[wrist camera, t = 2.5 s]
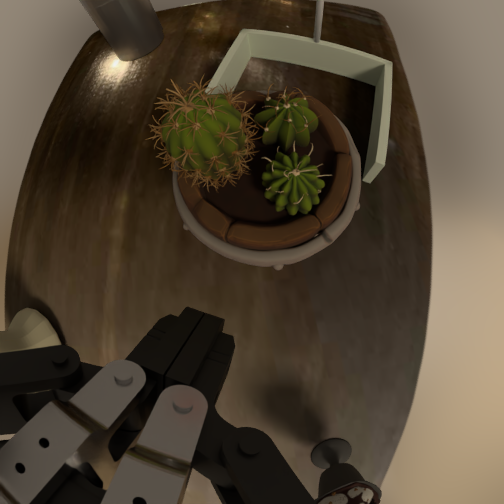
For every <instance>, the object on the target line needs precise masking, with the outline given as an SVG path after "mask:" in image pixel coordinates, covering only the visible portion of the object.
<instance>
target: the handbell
mask: <svg viewBox="0 0 504 504" xmlns="http://www.w3.org/2000/svg"><path fill="white" fill-rule="evenodd" d="M54 345H62V344H61V342H60V339H59V337H58V334H57V333H56V331H55V330H54V328H53V327H52V325H51V324H50V322H49V321H48V319H46V318H45V317H44V316H43V315H42V314H41V313H39V312H38V311H37V310H35V309H30V308H25V309H23V310H21V311H19V312H18V313H17V314H16V315H15V317H14V318H13V320H12V322H11V323H10V326H9V328H8V330H7V331H0V353H3V352H12V351H20V350H27V349H34V348H41V347H48V346H54ZM48 391H49V390H48ZM35 393H36V392H35ZM28 394H29V393H28Z"/></svg>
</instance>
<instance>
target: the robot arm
mask: <svg viewBox="0 0 504 504" xmlns="http://www.w3.org/2000/svg"><path fill="white" fill-rule="evenodd" d="M80 2H81V3H82V5H83V6H84V8H85V9H86V11H87V12H88V14H89V15H90V16H91V18H92V19H93V21H94V22H95V24H96V25H97V27H98V28H99V30H100V31H101V32H102V34H103V35H104V37H105V38H106V40H107V41H108V43H109V44H110V46H111V47H112V49H113V50H114V51H115V53H116V54H117V56H118V57H119V59H121V60H123V61H131V60H135V59H138V58H140V57H142V56H144V55H146V54H148V53H149V52H151V51H152V50H154V49H155V48H156V47H157V46H158V45H159V44H160V43H161V42H162V40H163V37H164V34H163V32H162V29H163V28H162V26H161V24H160V21H159V19H158V17H157V15H156V13H155V11H154V9H153V7H152V4H151V2H150V0H80ZM224 321H225V320H224V319H222V318H219V317H216V316H213V315H210V314H207V313H206V314H205V313H204V312H201V311H198V310H196V309H193V308H190V307H186V308H185V309H184V310H183V312H182V313H181V314H180V315H179V317H177V316H174V315H172V314H170V315H168V316H165V317H163V318H161V319H159V320H158V322H157V323H156V324H155V325H154V326H153V328H152V329H151V330H150V331H149V332H148V333H147V335H145V337H144V338H143V339H142V340H141V341H140V342H139V344H138V345H137V346H136V347H135V348H134V350H133V351H132V352H131V353H130V354H129V355H128V357H127V358H126V359H125V360H115V361H112V362H110V363H108V364H107V365H106V366H105V367H100V366H96V365H92V364H88V363H84V362H81V361H80V357H79V355H78V353H77V352H76V351H75V350H74V349H73V348H71V347H69V346H66V345H54V346H48V347H41V348H34V349H27V350H20V351H12V352H3V353H0V435H4V434H15V435H14V436H13V437H12V438H11V439H10V440H1V441H0V504H182V502H183V499H184V495H185V491H186V488H187V485H188V482H189V478H190V475H191V472H192V468H194V469H195V470H196V471H198V472H199V473H201V474H202V475H204V476H205V477H207V478H208V479H210V480H211V483H212V485H213V487H214V489H215V491H216V493H217V495H218V497H219V499H220V500H221V502H222V504H317V503H316V502H315V500H314V499H313V498H312V497H311V495H310V494H309V493H308V491H307V490H306V489H305V487H304V486H303V484H302V483H301V482H300V480H299V479H298V478H297V476H296V475H295V473H294V472H293V470H292V469H291V468H290V466H289V465H288V463H287V462H286V460H285V459H284V457H283V456H282V455H281V453H280V452H279V450H278V449H277V447H276V446H275V444H274V442H273V441H272V440H271V438H270V437H269V436H268V435H267V434H265V433H264V432H262V431H260V430H258V429H255V428H251V427H241V428H236V427H234V426H233V425H231V424H229V423H228V422H226V421H225V420H224V419H223V418H221V417H220V415H219V414H218V413H217V411H216V409H215V404H216V402H217V399H218V397H219V394H220V391H221V389H222V387H223V384H224V382H225V379H226V376H227V374H228V371H229V367H230V363H231V360H232V356H233V353H234V349H235V343H234V338H233V336H232V335H228V334H225V333H222V331H223V326H224ZM48 390H49V391H48ZM35 392H36V393H35ZM28 393H29V394H28Z"/></svg>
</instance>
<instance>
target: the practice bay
mask: <svg viewBox="0 0 504 504" xmlns="http://www.w3.org/2000/svg"><path fill="white" fill-rule="evenodd" d="M323 6H324V0H317V5H316V18H315V30H314V39H312V38H307V37H302V36H297V35H291V34H285V33H278V32H271V31H263V30H253V29H242V31H241V32H240V34H239V35H238V37H237V38H236V40H235V41H234V43H233V45H232V46H231V48H230V49H229V51H228V53H227V54H226V56H225V57H224V59H223V61H222V62H221V64H220V66H219V67H218V69H217V71H216V73H215V74H214V76H213V78H212V80H211V81H210V84H209V85H208V87H209V88H208V89H206V90H205V92H206V93H207V92H208V91H210V90H211V89H210V88H212V89H213V88H214V87H216V88H215V89H214V90H213V91H210V92H209V93H208V94H210V93H211V92H212V93H211V94H218V93H222V92H223V93H224V90H225V93H226V89H225V88H226V86H227V90H228V92H230V88H231V89H232V88H233V86H234V85H235V86H234V88H233V89H232V91H234V89H235V87H236V85H237V83H238V81H239V79H240V77H241V75H242V73H243V71H244V69H245V67H246V65H247V63H248V61H249V60H250V58H251V57H257V58H264V59H271V60H277V61H283V62H288V63H293V64H298V65H303V66H308V67H312V68H316V69H320V70H324V71H328V72H332V73H336V74H339V75H343V76H346V77H349V78H352V79H356V80H359V81H362V82H365V83H368V84H371V85H373V86H376V89H375V99H374V108H373V116H372V124H371V131H370V138H369V145H368V151H367V157H366V163H365V168H364V174H363V179H362V181H365V182H368V183H371V182H372V180H373V179H374V178H375V177H376V176H377V174H378V173H379V172H380V171H381V169H382V168H383V167H384V166H385V159H386V152H387V143H388V133H389V123H390V109H391V92H392V62H390V61H388V60H385V59H382V58H379V57H377V56H374V55H371V54H368V53H365V52H362V51H358V50H355V49H352V48H348V47H345V46H341V45H338V44H334V43H330V42H326V41H321V40H320V34H321V25H322V16H323ZM225 84H226V86H225ZM217 86H218V87H217ZM221 86H222V87H223V88H224V90H223V88H222V87H221ZM219 90H221V91H222V92H221V91H220V92H219ZM223 93H222V94H223ZM230 95H231V94H230ZM228 96H229V95H228Z"/></svg>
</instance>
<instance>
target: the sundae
mask: <svg viewBox="0 0 504 504" xmlns="http://www.w3.org/2000/svg"><path fill="white" fill-rule="evenodd" d="M350 455H351V446H350V444H349V443H348V442H347V441H345V440H342V439H331V440H327V441H324V442H323V443H321V444H319V445H318V446H317V447H316V448H315V449H314V450H313V452H312V455H311V460H312V462H313V464H314V465H315V466H317V467H319V468H322V469H326V470H325V471H324V472H323V473H322V474H321V476H320V481H319V493H318V498H317V499H315V502H316V503H317V504H379V503H380V498H381V490H380V489H379V488H378V487H377V486H376V485H374V484H372V483H370V482H368V481H365V480H364V478H363V477H362V476H361V474H360V473H359V472H358V471H357V470H356V469H355V468H354V467H353V466H352V465H350V464H348V463H345V462H346V461H347V460H348V459H349V457H350Z"/></svg>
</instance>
